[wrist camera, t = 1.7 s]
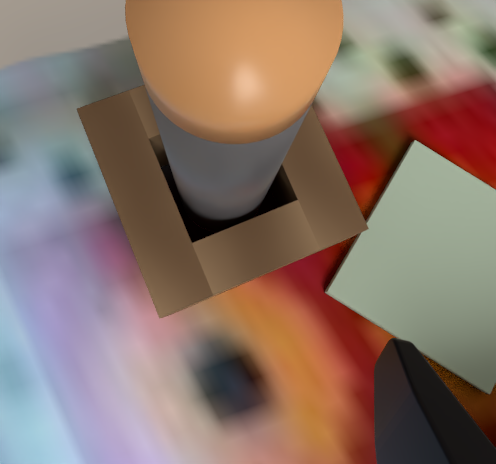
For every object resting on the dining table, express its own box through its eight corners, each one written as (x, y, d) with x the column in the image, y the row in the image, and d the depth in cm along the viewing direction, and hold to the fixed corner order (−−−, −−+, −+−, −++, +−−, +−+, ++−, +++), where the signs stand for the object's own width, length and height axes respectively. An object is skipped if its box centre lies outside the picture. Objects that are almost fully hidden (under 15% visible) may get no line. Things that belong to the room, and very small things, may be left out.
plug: (229, 249, 22) (258, 159, 8) (163, 199, 22) (78, 24, 8) (278, 185, 22) (383, -1, 8) (214, 138, 22) (216, -123, 9)
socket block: (169, 315, 21) (159, 318, 17) (100, 143, 22) (76, 108, 18) (341, 241, 22) (368, 229, 18) (268, 81, 23) (280, 36, 19)
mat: (483, 392, 21) (490, 394, 21) (324, 292, 22) (326, 292, 21) (560, 235, 23) (567, 234, 23) (410, 143, 23) (415, 139, 23)
